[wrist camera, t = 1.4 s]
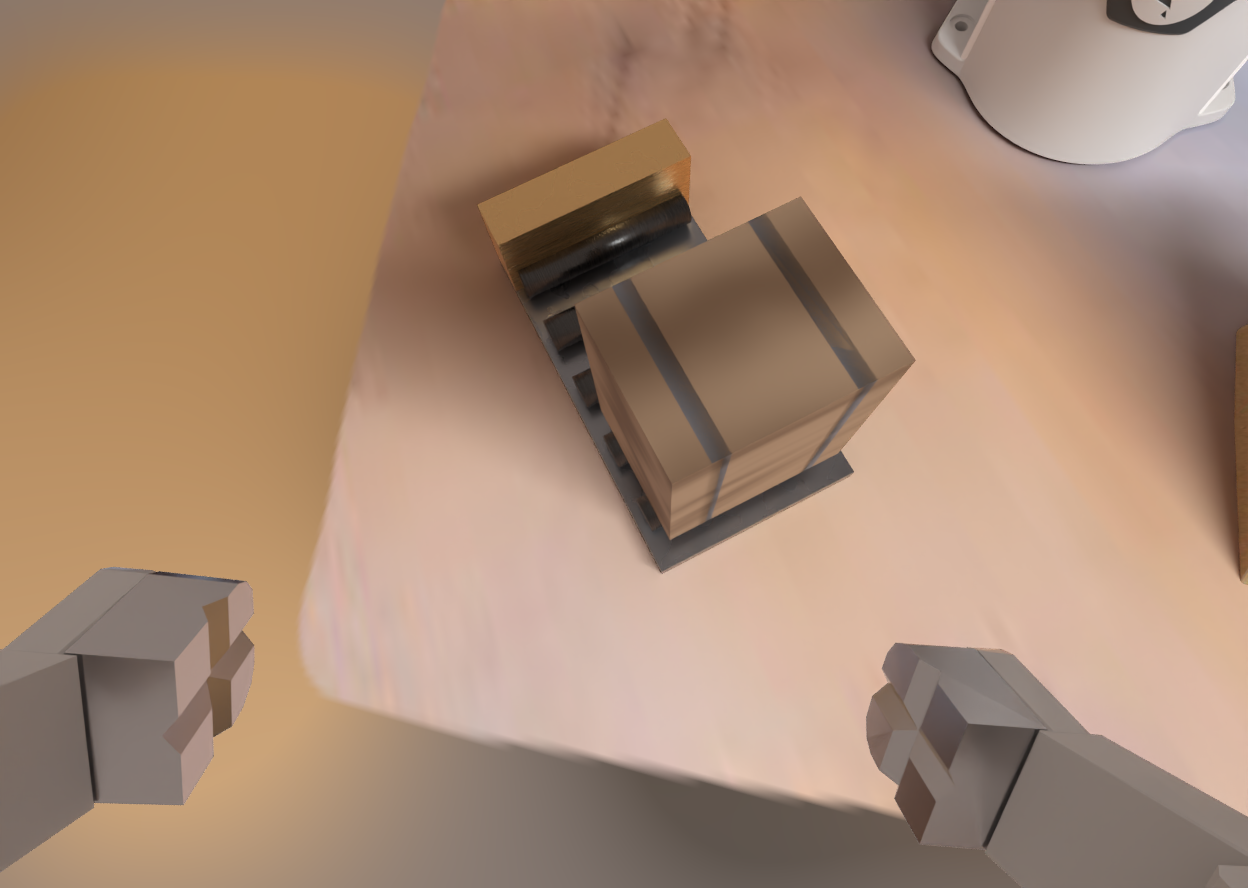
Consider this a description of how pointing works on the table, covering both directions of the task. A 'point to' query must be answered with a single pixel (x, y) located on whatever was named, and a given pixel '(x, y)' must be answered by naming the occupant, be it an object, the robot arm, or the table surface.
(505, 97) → the table surface
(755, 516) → the roller track
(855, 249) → the table surface
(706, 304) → the crate
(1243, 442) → the sandwich container
